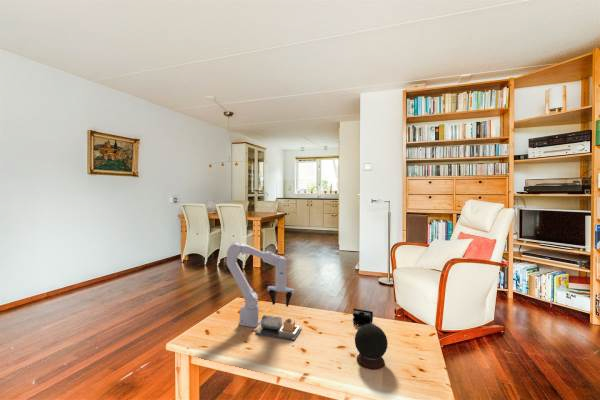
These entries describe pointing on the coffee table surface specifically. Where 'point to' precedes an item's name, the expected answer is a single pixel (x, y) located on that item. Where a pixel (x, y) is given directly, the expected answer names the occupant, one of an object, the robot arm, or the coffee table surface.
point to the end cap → (362, 317)
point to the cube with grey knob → (289, 325)
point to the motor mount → (276, 328)
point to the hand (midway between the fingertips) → (280, 305)
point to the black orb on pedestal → (371, 346)
